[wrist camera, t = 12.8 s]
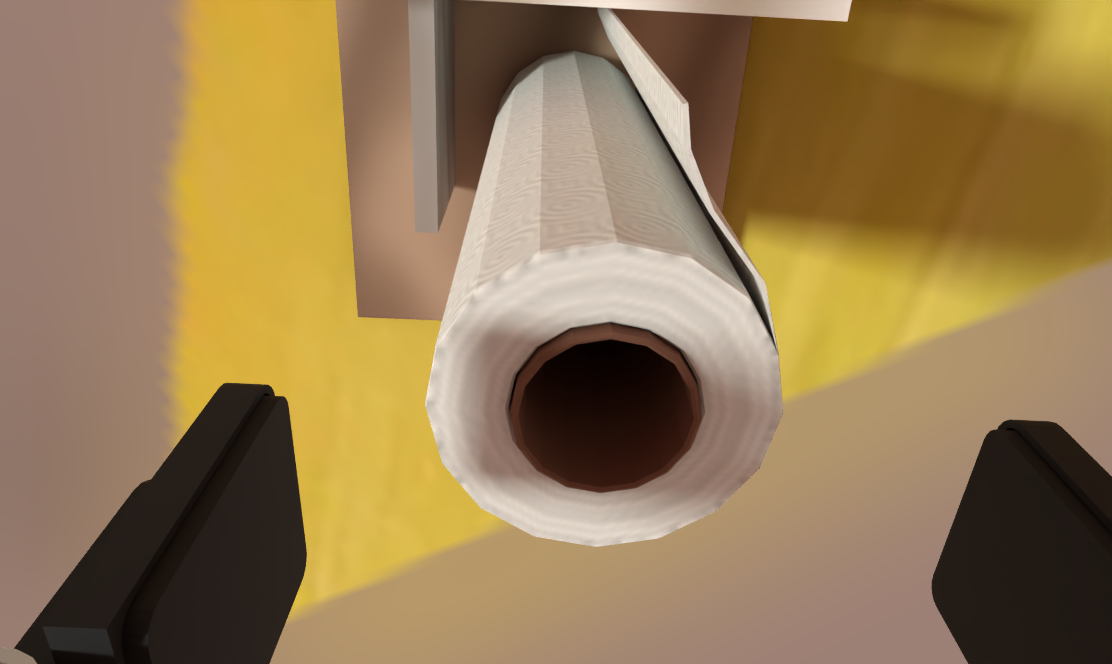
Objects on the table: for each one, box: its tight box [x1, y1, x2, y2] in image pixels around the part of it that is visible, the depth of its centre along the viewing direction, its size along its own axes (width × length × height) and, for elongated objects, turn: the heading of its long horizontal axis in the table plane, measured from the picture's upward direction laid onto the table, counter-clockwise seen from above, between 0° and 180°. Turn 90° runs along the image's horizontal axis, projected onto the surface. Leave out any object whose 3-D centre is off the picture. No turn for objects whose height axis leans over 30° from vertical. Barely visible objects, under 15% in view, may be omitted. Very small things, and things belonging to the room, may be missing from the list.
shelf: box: [336, 0, 852, 321], centre depth 28 cm, size 16×16×12 cm
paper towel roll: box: [425, 7, 783, 547], centre depth 22 cm, size 7×6×21 cm
